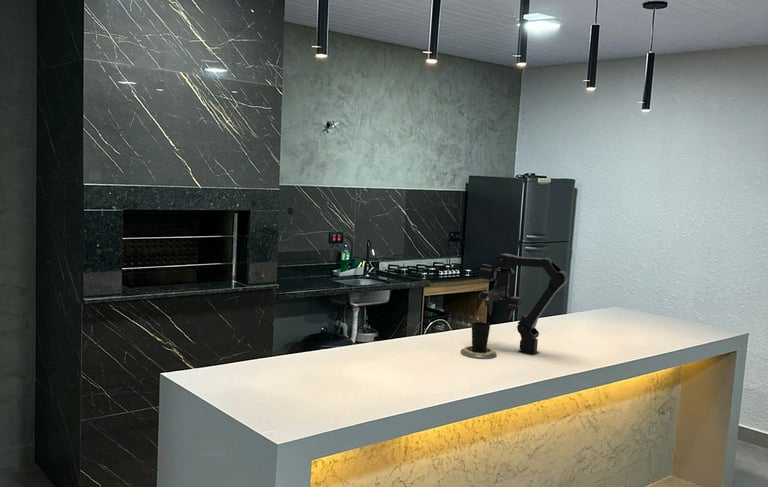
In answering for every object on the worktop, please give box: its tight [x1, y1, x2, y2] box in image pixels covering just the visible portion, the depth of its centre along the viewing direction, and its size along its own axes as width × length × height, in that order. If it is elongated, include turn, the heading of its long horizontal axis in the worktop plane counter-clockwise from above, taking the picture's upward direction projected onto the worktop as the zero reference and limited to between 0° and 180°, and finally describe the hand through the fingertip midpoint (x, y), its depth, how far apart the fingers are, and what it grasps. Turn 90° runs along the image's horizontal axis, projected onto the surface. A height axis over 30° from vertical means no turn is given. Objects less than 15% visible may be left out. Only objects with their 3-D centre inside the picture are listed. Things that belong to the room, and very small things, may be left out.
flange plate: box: [460, 345, 497, 360], centre depth 287 cm, size 15×15×2 cm
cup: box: [471, 321, 491, 353], centre depth 287 cm, size 8×8×12 cm
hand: (499, 317), depth 301 cm, fingers open, 9 cm apart
